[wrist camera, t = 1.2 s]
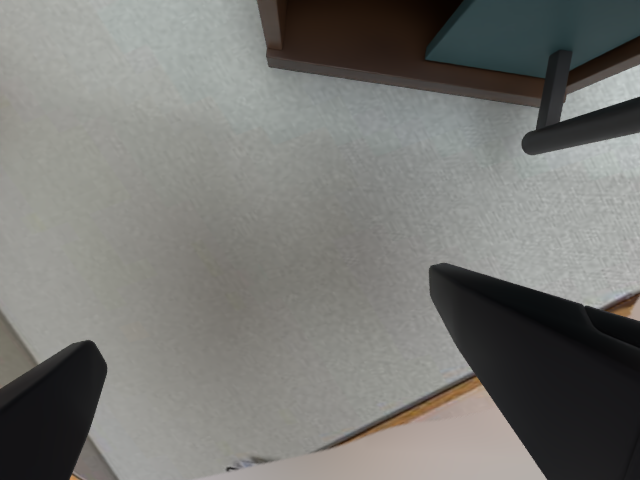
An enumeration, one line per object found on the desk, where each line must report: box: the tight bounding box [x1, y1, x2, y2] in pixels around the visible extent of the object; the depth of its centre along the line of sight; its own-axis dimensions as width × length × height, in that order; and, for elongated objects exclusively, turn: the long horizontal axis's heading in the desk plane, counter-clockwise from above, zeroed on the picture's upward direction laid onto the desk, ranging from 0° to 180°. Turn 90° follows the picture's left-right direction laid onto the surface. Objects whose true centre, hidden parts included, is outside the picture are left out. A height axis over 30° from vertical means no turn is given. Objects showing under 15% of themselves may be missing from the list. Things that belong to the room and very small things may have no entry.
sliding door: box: [425, 0, 640, 155], centre depth 16 cm, size 6×9×11 cm
